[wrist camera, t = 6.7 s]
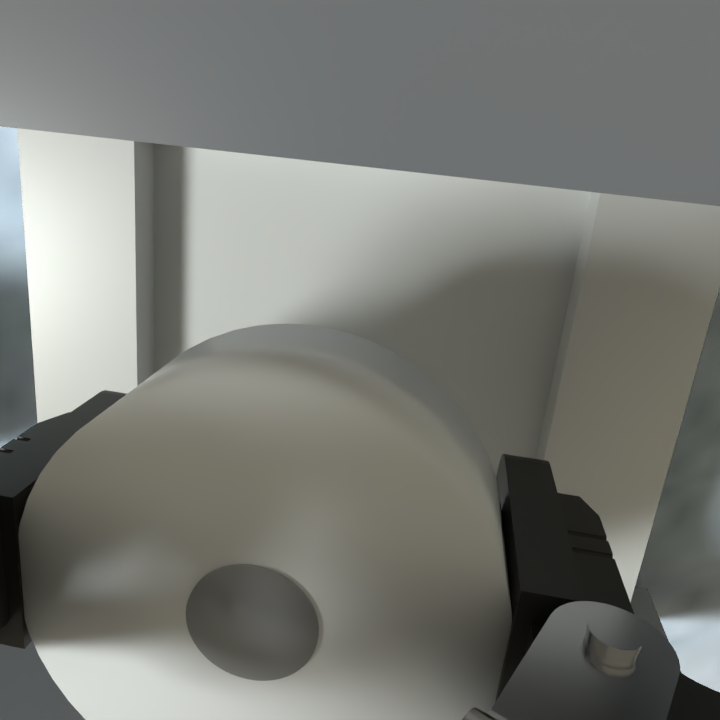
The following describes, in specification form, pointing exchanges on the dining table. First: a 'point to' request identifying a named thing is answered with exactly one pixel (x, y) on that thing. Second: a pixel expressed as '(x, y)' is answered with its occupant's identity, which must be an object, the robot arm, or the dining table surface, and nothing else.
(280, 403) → the white domed lid
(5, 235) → the dining table surface
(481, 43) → the housing
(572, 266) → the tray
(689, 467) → the dining table surface
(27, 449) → the robot arm
